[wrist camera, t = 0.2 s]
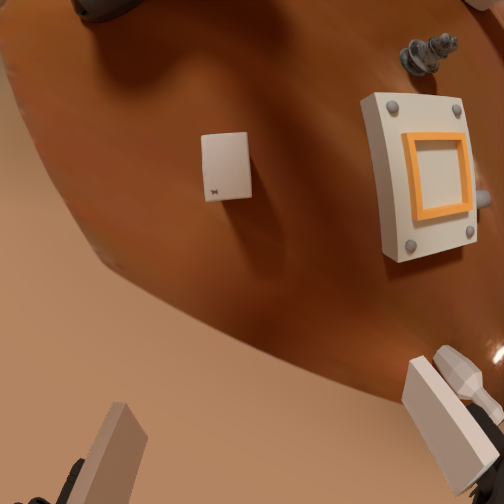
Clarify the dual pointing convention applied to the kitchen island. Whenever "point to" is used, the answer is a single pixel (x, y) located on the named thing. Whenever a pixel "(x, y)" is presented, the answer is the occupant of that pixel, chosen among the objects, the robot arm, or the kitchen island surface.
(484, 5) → the cylinder vase
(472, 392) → the low poly bottle
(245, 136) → the skincare box
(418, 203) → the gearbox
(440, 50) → the chess piece
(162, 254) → the kitchen island surface
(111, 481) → the robot arm
